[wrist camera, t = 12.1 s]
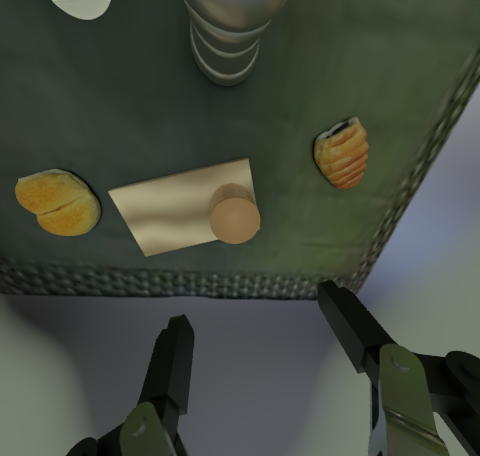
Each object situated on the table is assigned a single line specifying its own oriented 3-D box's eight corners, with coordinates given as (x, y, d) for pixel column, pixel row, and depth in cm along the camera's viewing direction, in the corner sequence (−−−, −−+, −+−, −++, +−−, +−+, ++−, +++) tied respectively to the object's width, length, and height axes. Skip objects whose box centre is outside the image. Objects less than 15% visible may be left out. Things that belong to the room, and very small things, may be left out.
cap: (206, 188, 25) (203, 205, 19) (247, 179, 25) (256, 192, 20) (217, 224, 28) (217, 248, 22) (254, 216, 28) (263, 237, 22)
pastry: (365, 172, 29) (385, 177, 25) (326, 195, 30) (340, 204, 26) (350, 112, 24) (371, 109, 21) (305, 142, 26) (318, 144, 22)
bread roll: (65, 235, 28) (43, 250, 24) (17, 178, 24) (-18, 186, 20) (116, 221, 28) (102, 234, 24) (77, 161, 23) (52, 167, 20)
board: (113, 188, 25) (108, 191, 24) (246, 157, 25) (248, 158, 24) (148, 251, 30) (145, 256, 29) (258, 225, 31) (260, 229, 29)
